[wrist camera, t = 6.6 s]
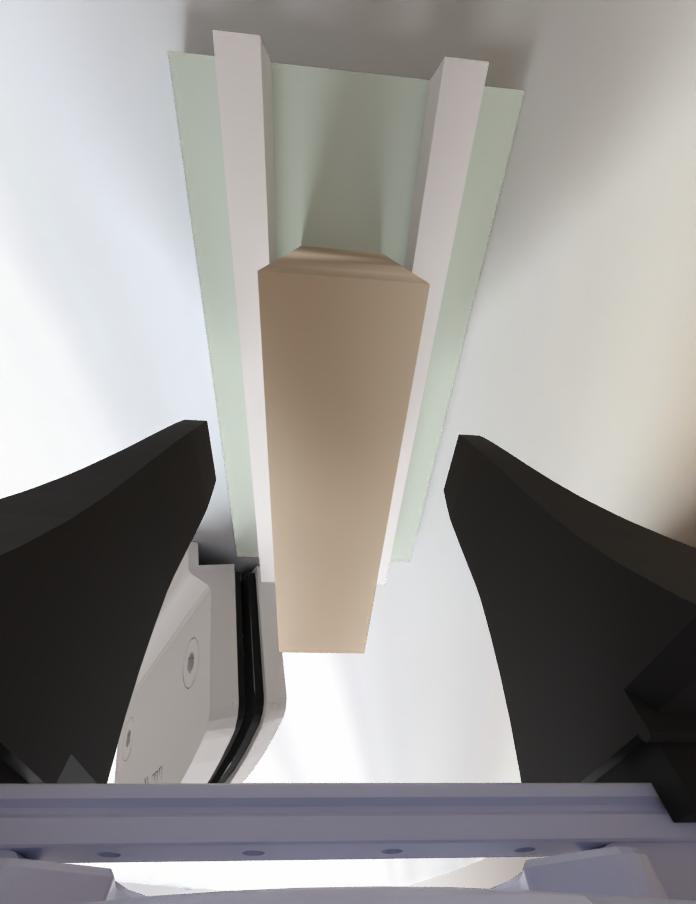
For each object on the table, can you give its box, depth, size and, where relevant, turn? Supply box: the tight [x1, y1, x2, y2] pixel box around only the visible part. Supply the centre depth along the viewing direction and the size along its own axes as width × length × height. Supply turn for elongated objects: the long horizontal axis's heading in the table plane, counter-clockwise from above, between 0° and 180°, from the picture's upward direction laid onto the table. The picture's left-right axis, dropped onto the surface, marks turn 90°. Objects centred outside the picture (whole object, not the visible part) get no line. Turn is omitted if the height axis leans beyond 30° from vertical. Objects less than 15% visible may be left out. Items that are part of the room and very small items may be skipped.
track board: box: [168, 30, 525, 585], centre depth 14 cm, size 9×18×2 cm, turn 176°
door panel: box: [257, 246, 430, 653], centre depth 11 cm, size 2×10×7 cm, turn 176°
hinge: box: [115, 541, 286, 784], centre depth 20 cm, size 17×5×10 cm, turn 146°
